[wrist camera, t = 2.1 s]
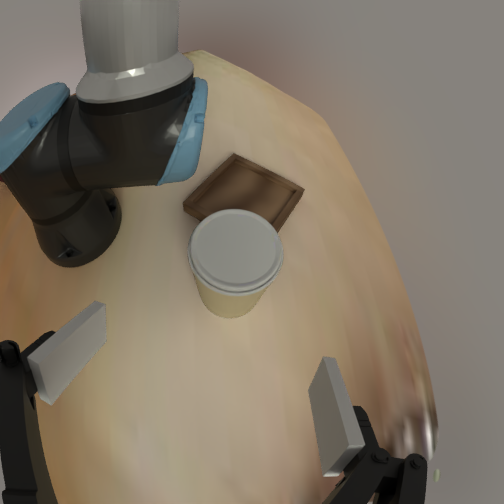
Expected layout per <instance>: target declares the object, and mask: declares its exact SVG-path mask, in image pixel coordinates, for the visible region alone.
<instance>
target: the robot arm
mask: <svg viewBox="0 0 504 504" xmlns="http://www.w3.org/2000/svg"><path fill="white" fill-rule="evenodd" d="M80 12H81V23H82V34H83V42H84V49H85V56H86V63H87V72H86V73H85V75H84V76H83V78H82V79H81V81H80V82H79V84H78V86H77V88H76V95H73V96H70V89H69V88H68V87H67V86H66V84H64V83H59V82H57V83H53V84H50V85H48V86H45V87H43V88H41V89H40V90H37V91H36V92H34V93H33V94H31V95H29V96H28V97H26V98H25V99H24V100H23V101H21V102H20V103H19V104H18V105H16V106H15V107H14V108H13V109H12V110H11V111H10V112H9V113H8V114H7V115H6V116H5V117H4V118H3V119H2V121H1V122H0V176H1V177H2V179H3V181H4V182H5V184H6V185H7V187H8V188H9V189H10V191H11V192H12V194H13V195H14V197H15V198H16V199H17V201H18V202H19V204H20V205H21V206H22V208H23V209H24V210H25V212H26V213H27V214H28V216H29V217H30V218H31V220H32V222H33V226H34V229H35V233H36V236H37V239H38V242H39V245H40V247H41V249H42V251H43V252H44V253H45V255H46V256H47V257H48V258H49V259H50V260H51V261H52V262H53V263H55V264H57V265H59V266H62V267H78V266H82V265H84V264H87V263H89V262H91V261H93V260H94V259H96V258H97V257H99V256H100V255H101V254H102V253H103V252H104V251H105V250H106V249H107V248H108V247H109V246H110V245H111V243H112V242H113V240H114V239H115V237H116V235H117V233H118V231H119V228H120V224H121V209H120V206H119V203H118V200H117V198H116V196H115V194H114V192H113V191H112V190H111V189H110V188H120V187H133V186H148V185H156V186H158V185H159V186H160V185H162V184H164V183H172V182H181V181H185V180H187V179H188V178H190V177H191V176H192V175H193V174H194V173H195V171H196V168H197V165H198V161H199V156H200V150H201V144H202V137H203V130H204V118H205V111H206V105H207V94H208V86H207V82H206V80H204V79H200V78H199V77H194V78H193V70H194V66H193V63H192V62H191V61H190V60H189V59H188V58H187V57H185V56H184V55H183V54H181V53H180V52H179V51H178V19H179V0H80ZM106 341H107V339H106V304H103V303H100V302H98V301H94V302H93V303H92V304H90V305H89V306H88V307H87V308H85V309H84V310H83V311H82V312H80V313H79V314H78V315H77V316H75V317H74V318H73V319H72V320H70V321H69V322H68V323H67V324H66V325H64V326H63V327H62V328H61V329H60V330H58V331H57V332H54V331H50V332H47V333H44V334H43V335H42V336H41V337H39V339H37V340H36V341H35V342H34V343H32V344H31V345H30V346H28V347H27V348H26V349H25V350H24V351H23V352H21V353H20V349H19V345H18V344H17V343H16V342H14V341H11V340H5V341H2V342H0V453H1V462H2V469H3V475H4V481H5V486H6V488H5V490H4V491H2V499H3V503H4V504H58V502H57V499H56V496H55V493H54V490H53V487H52V483H51V480H50V476H49V473H48V469H47V465H46V461H45V457H44V452H43V447H42V442H41V437H40V431H39V424H38V417H37V409H36V400H35V396H34V394H35V393H36V392H37V391H38V393H39V396H40V399H42V400H43V401H45V402H47V403H48V404H50V405H52V404H53V403H54V402H55V400H56V399H57V398H58V397H59V396H60V394H61V393H62V392H63V391H64V390H65V388H66V387H67V386H68V385H69V384H70V383H71V381H72V380H73V379H74V378H75V377H76V375H77V374H78V373H79V372H80V371H81V370H82V369H83V367H84V366H85V365H86V364H87V363H88V362H89V360H90V359H91V358H92V357H93V356H94V355H95V354H96V353H97V351H98V350H99V349H100V348H101V347H102V346H103V345H104V344H105V342H106ZM308 393H309V398H310V404H311V409H312V415H313V420H314V426H315V431H316V437H317V443H318V449H319V455H320V461H321V467H322V473H323V476H338V475H339V474H340V473H341V472H342V471H344V475H345V476H344V477H343V479H342V480H341V481H340V482H339V483H338V484H337V485H335V486H336V487H335V489H334V490H333V491H332V492H331V493H330V495H329V496H328V497H327V498H326V499H325V501H324V502H323V503H322V504H367V503H368V501H369V500H370V498H371V497H372V495H373V493H374V492H375V497H374V500H373V504H424V501H425V492H426V481H427V461H426V460H425V458H424V457H423V456H421V455H419V454H410V455H408V456H407V457H406V458H405V459H400V458H393V457H391V456H390V454H389V453H388V452H387V451H386V450H385V449H383V448H380V447H379V445H378V442H377V440H376V437H375V434H374V431H373V429H372V427H371V424H370V421H369V418H368V416H367V413H366V412H365V411H364V410H363V408H362V407H361V406H352V404H351V401H350V398H349V395H348V392H347V389H346V387H345V384H344V381H343V378H342V376H341V373H340V370H339V367H338V365H337V362H336V359H335V358H330V357H323V358H322V360H321V363H320V365H319V367H318V370H317V372H316V374H315V376H314V378H313V381H312V383H311V385H310V387H309V389H308Z"/></svg>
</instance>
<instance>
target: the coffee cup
mask: <svg viewBox="0 0 504 504" xmlns="http://www.w3.org/2000/svg"><path fill="white" fill-rule="evenodd" d="M188 260H189V264H190V266H191V269H192V271H193V274H194V277H195V280H196V284H197V287H198V290H199V293H200V296H201V298H202V301H203V303H204V304H205V306H206V307H207V309H208V310H210V311H211V312H212V313H213V314H215V315H217V316H219V317H222V318H238V317H241V316H243V315H245V314H246V313H248V312H249V311H250V310H251V309H252V308H253V307H254V306H255V304H256V303H257V302H258V300H259V299H260V298H261V296H262V295H263V293H264V292H265V291H266V289H267V288H268V286H269V285H270V283H271V282H272V281H273V280H274V279H275V278H276V276H277V275H278V273H279V271H280V269H281V266H282V262H283V247H282V243H281V240H280V238H279V236H278V234H277V232H276V230H275V229H274V228H273V226H272V225H271V224H270V223H269V222H268V221H267V220H265V219H264V218H263V217H261V216H259V215H257V214H255V213H253V212H250V211H246V210H241V209H227V210H222V211H218V212H216V213H213V214H211V215H209V216H208V217H206V218H205V219H204V220H203V221H202V222H201V223H200V224H199V225H198V226H197V227H196V228H195V229H194V231H193V233H192V234H191V237H190V239H189V243H188Z"/></svg>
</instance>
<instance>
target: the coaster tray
mask: <svg viewBox="0 0 504 504" xmlns="http://www.w3.org/2000/svg"><path fill="white" fill-rule="evenodd" d="M304 190H305V189H304V188H302V187H300V186H298V185H296V184H294V183H292V182H291V181H289V180H287V179H285V178H283V177H281V176H279V175H277V174H275V173H273V172H271V171H269V170H267V169H265V168H263V167H261V166H259V165H257V164H255V163H253V162H251V161H249V160H247V159H245V158H243V157H241V156H238V155H236V154H233V155H232V156H230V157H229V158H228V159H227V160H226V161H225V162H224V163H223V164H222V165H221V166H220V167H219V168H218V169H217V170H216V171H215V172H213V173H212V174H211V175H210V176H209V177H208V178H207V179H206V180H205V181H204V182H203V183H202V184H201V185H200V186H199V187H198V188H197V189H196V190H195V191H194V192H193V193H192V194H191V195H190V196H189V197H188V198H187V199H186V200H185V201H184V202H183V207H184V211H185V212H187V213H188V214H190V215H192V216H194V217H195V218H197V219H199V220H200V221H203V220H204V219H205V218H206V217H208V216H209V215H211V214H213V213H216V212H218V211H222V210H227V209H241V210H246V211H250V212H253V213H255V214H257V215H259V216H261V217H263V218H264V219H265V220H267V221H268V222H269V223H270V224H271V225H272V226H273V228H274V229H275V230H276V232H277V233H278V232H279V230H280V229H281V227H282V226H283V224H284V223H285V221H286V220H287V218H288V217H289V215H290V214H291V212H292V211H293V209H294V208H295V206H296V205H297V203H298V202H299V200H300V199H301V197H302V195H303V192H304Z"/></svg>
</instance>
